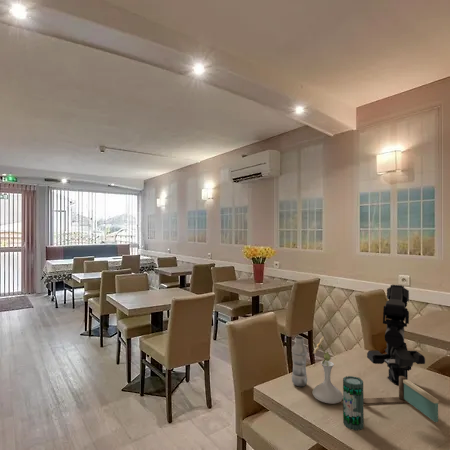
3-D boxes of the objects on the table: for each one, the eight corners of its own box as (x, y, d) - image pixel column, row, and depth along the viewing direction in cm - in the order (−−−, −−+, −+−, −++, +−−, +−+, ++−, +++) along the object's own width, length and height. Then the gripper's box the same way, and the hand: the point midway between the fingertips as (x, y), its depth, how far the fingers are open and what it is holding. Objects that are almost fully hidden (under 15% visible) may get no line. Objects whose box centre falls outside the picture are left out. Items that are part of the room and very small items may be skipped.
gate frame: (402, 398, 124) (402, 375, 124) (408, 402, 121) (408, 379, 121) (355, 400, 123) (354, 377, 123) (359, 404, 120) (358, 381, 120)
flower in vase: (321, 388, 132) (321, 328, 132) (348, 398, 124) (347, 334, 124) (304, 400, 123) (304, 335, 123) (332, 412, 115) (331, 343, 115)
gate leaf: (403, 399, 121) (403, 379, 121) (407, 398, 121) (407, 379, 121) (434, 422, 106) (434, 400, 106) (438, 421, 107) (438, 400, 107)
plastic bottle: (305, 381, 138) (305, 335, 138) (308, 389, 131) (308, 340, 131) (290, 380, 139) (290, 334, 139) (292, 388, 132) (292, 340, 132)
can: (340, 423, 108) (340, 379, 108) (350, 417, 112) (349, 374, 112) (356, 432, 103) (356, 386, 104) (366, 425, 107) (366, 381, 107)
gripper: (380, 346, 109) (380, 391, 109) (434, 346, 109) (435, 391, 109) (366, 335, 120) (366, 376, 120) (415, 335, 120) (416, 376, 120)
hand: (395, 380), depth 117 cm, fingers closed
